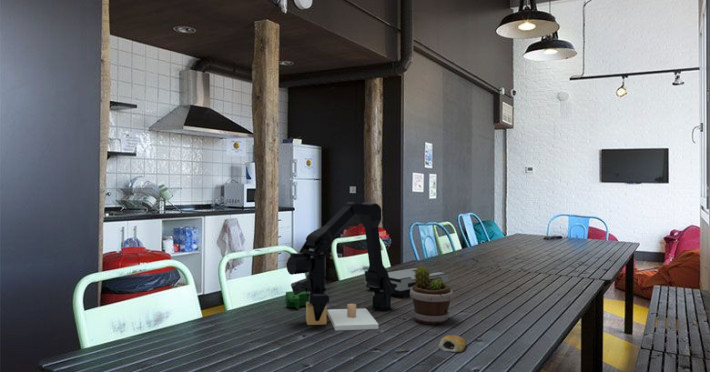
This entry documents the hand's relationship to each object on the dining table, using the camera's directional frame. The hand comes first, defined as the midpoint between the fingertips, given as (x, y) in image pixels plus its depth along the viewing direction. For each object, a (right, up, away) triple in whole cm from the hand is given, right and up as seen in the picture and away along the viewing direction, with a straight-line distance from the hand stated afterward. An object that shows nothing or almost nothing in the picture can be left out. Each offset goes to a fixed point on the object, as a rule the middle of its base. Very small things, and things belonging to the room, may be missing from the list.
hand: (316, 318), depth 166 cm
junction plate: (+12, -2, +2) cm, 12 cm away
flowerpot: (+39, -2, +4) cm, 39 cm away
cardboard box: (0, -1, 0) cm, 1 cm away
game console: (+36, -2, +53) cm, 64 cm away
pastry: (+41, -3, -23) cm, 47 cm away
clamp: (-7, -1, +19) cm, 21 cm away
